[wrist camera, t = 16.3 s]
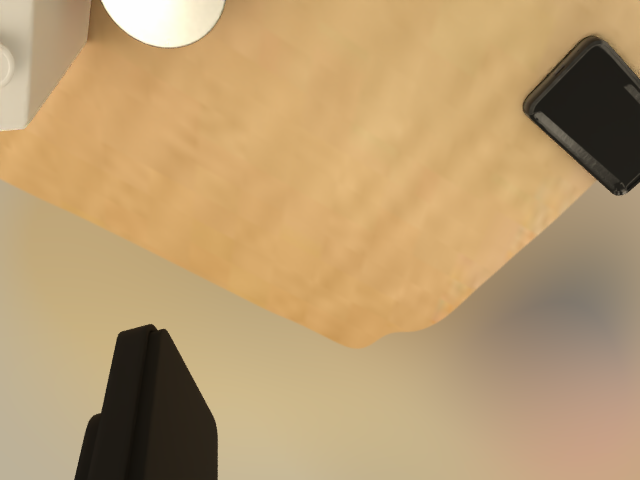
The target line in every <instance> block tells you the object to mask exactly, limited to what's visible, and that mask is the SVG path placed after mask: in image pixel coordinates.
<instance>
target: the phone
mask: <svg viewBox="0 0 640 480" xmlns="http://www.w3.org/2000/svg"><path fill="white" fill-rule="evenodd" d="M523 111H524V113H525V114H526V116H527V117H529V118H530V119H531V120H532V121H533V122H534V123H535V124H536V125H537V126H539V127H540V128H541V129H542V130H543V131H544V132H545V133H546V134H547V135H548V136H550V137H551V138H552V139H553V140H554V141H555V142H556V143H557V144H558V145H559V146H561V147H562V148H563V149H564V150H565V151H566V152H567V153H568V154H569V155H570V156H572V157H573V158H574V159H575V160H576V161H577V162H578V163H579V164H580V165H581V166H583V167H584V168H585V169H586V170H587V171H588V172H589V173H590V174H591V175H592V176H594V177H595V178H596V179H597V180H598V181H599V182H600V183H601V184H602V185H604V186H605V187H606V188H607V189H608V190H609V191H610V192H611V193H613V194H614V195H618V196H619V195H624V194H626V193H628V192H629V191H630V190H631V189H632V188H634V187H635V186H636V185H637V184H638V183H639V182H640V79H639V78H638V77H637V76H636V75H635V73H634V72H633V71H632V70H631V69H630V68H629V67H628V66H627V64H626V63H625V62H624V61H623V60H622V59H621V58H620V56H619V55H618V54H617V53H616V52H615V51H614V50H613V49H612V47H611V46H610V45H609V44H608V43H607V42H606V41H604V40H602V39H600V38H598V37H594V36H591V37H587V38H585V39H583V40H582V41H581V42H580V43H579V44H578V45H577V46H576V47H575V48H574V49H573V50H572V51H571V52H570V53H569V54H568V55H567V56H566V57H565V58H564V59H563V61H562V62H561V63H560V64H559V65H558V66H557V67H556V68H555V69H554V70H553V71H552V72H551V73H550V74H549V75H548V76H547V77H546V78H545V79H544V80H543V81H542V82H541V83H540V85H539V86H538V87H537V88H536V89H535V90H534V91H533V92H532V93H531V94H530V95H529V96H528V97H527V99H526V100H525V102H524V104H523Z"/></svg>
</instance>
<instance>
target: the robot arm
mask: <svg viewBox="0 0 640 480" xmlns="http://www.w3.org/2000/svg"><path fill="white" fill-rule="evenodd" d="M217 456H218V435H217V427H216V423H215V420H214V417H213V415H212V413H211V411H210V409H209V408H208V406H207V404H206V402H205V400H204V398H203V396H202V394H201V393H200V391H199V389H198V387H197V385H196V383H195V381H194V380H193V378H192V376H191V374H190V372H189V370H188V368H187V367H186V365H185V363H184V361H183V359H182V357H181V355H180V353H179V352H178V350H177V348H176V346H175V344H174V342H173V340H172V339H171V337H170V335H169V333H168V331H167V330H166V329H161V330H157V329H156V327H155V326H154V325H152V324H149V325H145V326H141V327H137V328H134V329H130V330H126V331H122V332H120V333H119V334H118V337H117V341H116V346H115V350H114V355H113V360H112V364H111V369H110V374H109V379H108V383H107V388H106V393H105V398H104V403H103V407H102V412H101V413H100V414H96V415H94V416H93V417H92V418H91V419H90V421H89V423H88V425H87V428H86V432H85V436H84V440H83V444H82V449H81V453H80V457H79V462H78V466H77V470H76V475H75V479H74V480H218V479H217V477H218V472H217V471H218V470H217V468H218V460H217V459H218V457H217Z"/></svg>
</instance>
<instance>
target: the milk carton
mask: <svg viewBox="0 0 640 480" xmlns="http://www.w3.org/2000/svg"><path fill="white" fill-rule="evenodd" d="M90 9H91V0H0V131H8V130H19V129H25V128H26V127H27V126H28V124H29V123H30V122H31V121H32V119H33V118H34V117H35V115H36V114H37V112H38V111H39V110H40V108H41V107H42V105H43V104H44V102H45V101H46V100H47V98H48V97H49V95H50V94H51V93H52V91H53V90H54V88H55V87H56V86H57V84H58V83H59V81H60V80H61V78H62V77H63V76H64V74H65V73H66V71H67V70H68V69H69V67H70V66H71V64H72V63H73V61H74V60H75V59H76V57H77V56H78V54H79V53H80V52H81V50H82V49H83V47H84V46H85V45H86V42H87V37H88V29H89V19H90Z"/></svg>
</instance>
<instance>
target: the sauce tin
mask: <svg viewBox="0 0 640 480" xmlns="http://www.w3.org/2000/svg"><path fill="white" fill-rule="evenodd" d="M100 1H101V3H102V5H103V7H104V9H105V10H106V12H107V13H108V15H109V16H110V17H111V19H112V20H113V21H114V22H115V24H116V25H118V26H119V27H120V28H121V29H122V30H123V31H124V32H125V33H127V34H128V35H129V36H131V37H133V38H134V39H136V40H138V41H140V42H142V43H144V44H147V45H150V46H154V47H159V48H180V47H185V46H188V45H191V44H193V43H195V42H197V41H199V40H200V39H202V38H203V37H205V36H206V35H207V34H208V33H209V32H210V31H211V30H212V29H213V28H214V26H215V25H216V24H217V22H218V21H219V19H220V17H221V15H222V12H223V10H224V6H225V3H226V0H100Z"/></svg>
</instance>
